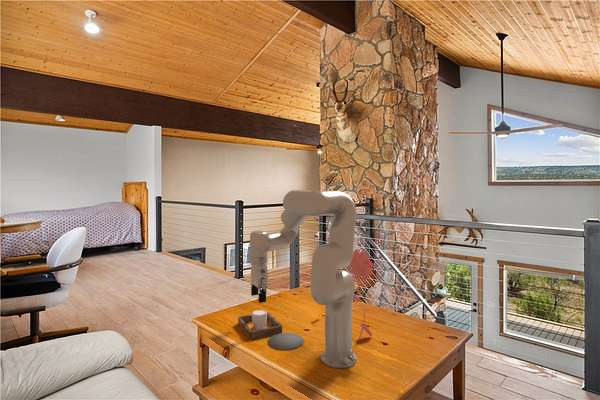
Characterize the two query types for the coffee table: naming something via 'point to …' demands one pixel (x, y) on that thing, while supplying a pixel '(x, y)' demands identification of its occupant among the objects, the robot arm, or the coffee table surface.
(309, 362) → the coffee table surface
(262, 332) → the brown rectangular frame
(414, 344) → the coffee table surface
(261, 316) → the white cylinder
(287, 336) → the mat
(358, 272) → the figurine
